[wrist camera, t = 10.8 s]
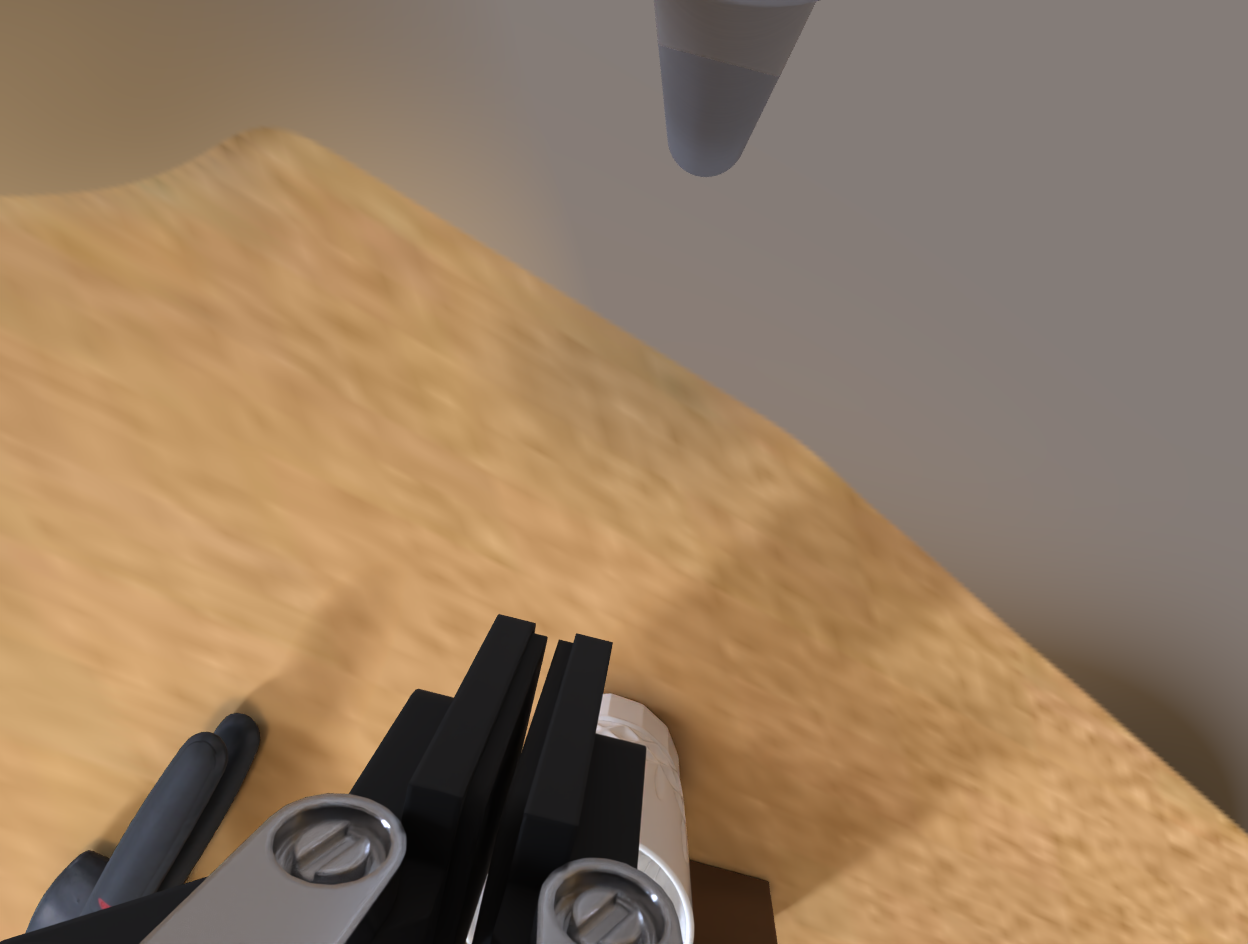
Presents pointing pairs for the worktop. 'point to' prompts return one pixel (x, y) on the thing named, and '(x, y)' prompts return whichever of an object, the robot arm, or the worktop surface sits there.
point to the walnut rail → (730, 907)
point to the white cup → (652, 805)
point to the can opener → (160, 828)
